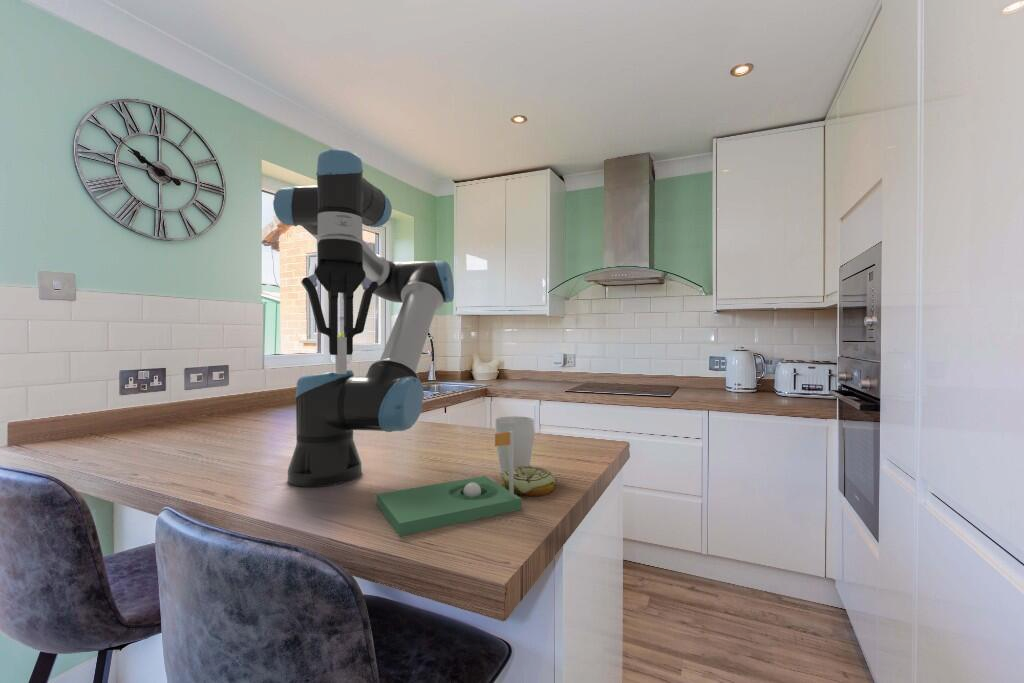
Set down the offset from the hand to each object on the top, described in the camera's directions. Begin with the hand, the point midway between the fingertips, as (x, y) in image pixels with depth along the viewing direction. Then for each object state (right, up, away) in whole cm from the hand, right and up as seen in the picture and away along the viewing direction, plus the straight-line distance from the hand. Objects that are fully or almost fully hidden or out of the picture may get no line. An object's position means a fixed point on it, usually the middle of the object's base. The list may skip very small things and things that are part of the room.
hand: (341, 373), depth 81 cm
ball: (+23, -23, +4) cm, 33 cm away
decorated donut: (+34, -25, +11) cm, 44 cm away
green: (+19, -24, +1) cm, 31 cm away
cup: (+31, -24, +22) cm, 45 cm away
